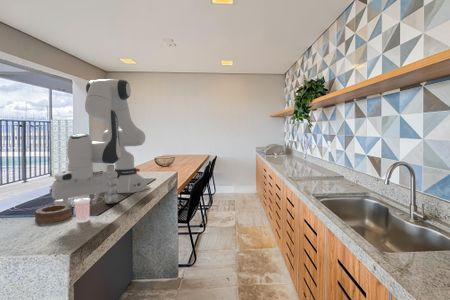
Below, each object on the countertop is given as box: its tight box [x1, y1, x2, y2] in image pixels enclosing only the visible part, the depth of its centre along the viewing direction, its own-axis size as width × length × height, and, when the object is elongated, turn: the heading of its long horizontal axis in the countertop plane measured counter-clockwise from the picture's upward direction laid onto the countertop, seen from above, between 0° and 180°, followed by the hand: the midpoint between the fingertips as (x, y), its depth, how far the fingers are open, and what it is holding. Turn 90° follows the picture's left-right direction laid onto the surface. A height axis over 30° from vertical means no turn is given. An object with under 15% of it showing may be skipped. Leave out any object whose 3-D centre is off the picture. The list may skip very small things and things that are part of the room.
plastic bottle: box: [103, 164, 119, 205], centre depth 126 cm, size 6×7×20 cm
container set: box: [53, 195, 85, 208], centre depth 123 cm, size 20×5×6 cm, turn 4°
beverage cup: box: [74, 196, 91, 223], centre depth 102 cm, size 6×6×14 cm
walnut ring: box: [34, 204, 73, 224], centre depth 106 cm, size 12×12×4 cm
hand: (82, 206), depth 102 cm, fingers open, 8 cm apart
